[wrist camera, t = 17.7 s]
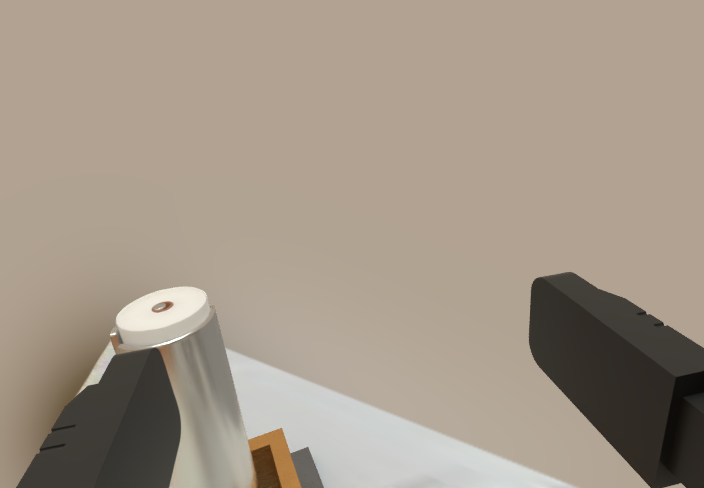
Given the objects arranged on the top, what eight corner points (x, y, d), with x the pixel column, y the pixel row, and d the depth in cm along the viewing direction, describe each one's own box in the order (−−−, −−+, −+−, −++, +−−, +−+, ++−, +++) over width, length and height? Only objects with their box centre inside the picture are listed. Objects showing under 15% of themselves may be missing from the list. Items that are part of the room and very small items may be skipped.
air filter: (202, 536, 41) (121, 292, 31) (274, 518, 42) (215, 276, 32) (193, 615, 35) (88, 343, 25) (277, 592, 36) (205, 321, 26)
